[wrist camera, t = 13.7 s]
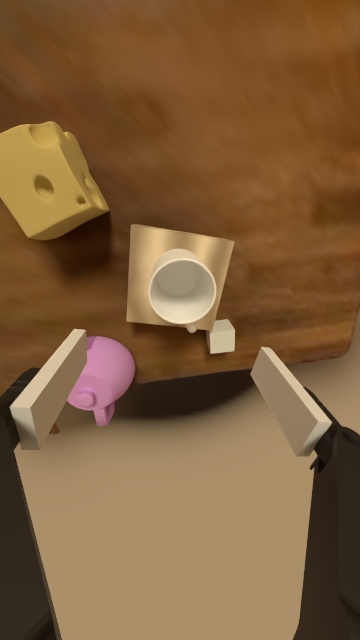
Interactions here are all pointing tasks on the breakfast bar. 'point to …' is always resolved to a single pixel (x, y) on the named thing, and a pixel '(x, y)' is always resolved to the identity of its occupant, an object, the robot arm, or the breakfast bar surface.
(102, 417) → the teapot
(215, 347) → the beige block
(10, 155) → the cheese
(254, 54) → the breakfast bar surface
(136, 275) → the oak block
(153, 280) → the mug
